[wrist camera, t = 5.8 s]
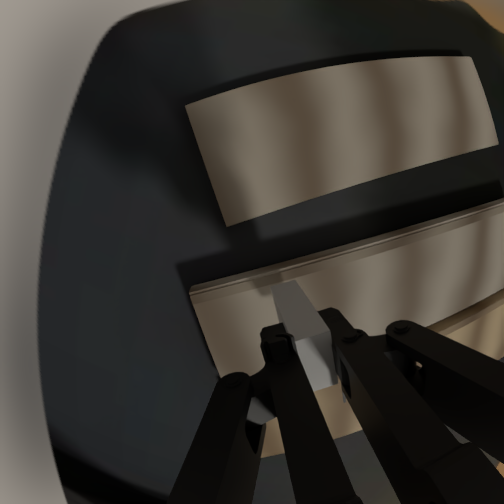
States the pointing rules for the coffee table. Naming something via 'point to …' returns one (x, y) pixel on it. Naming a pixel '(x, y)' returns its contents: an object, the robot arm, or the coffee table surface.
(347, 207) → the coffee table surface
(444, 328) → the laid board
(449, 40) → the coffee table surface
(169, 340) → the coffee table surface
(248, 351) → the board
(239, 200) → the plank
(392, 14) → the coffee table surface
